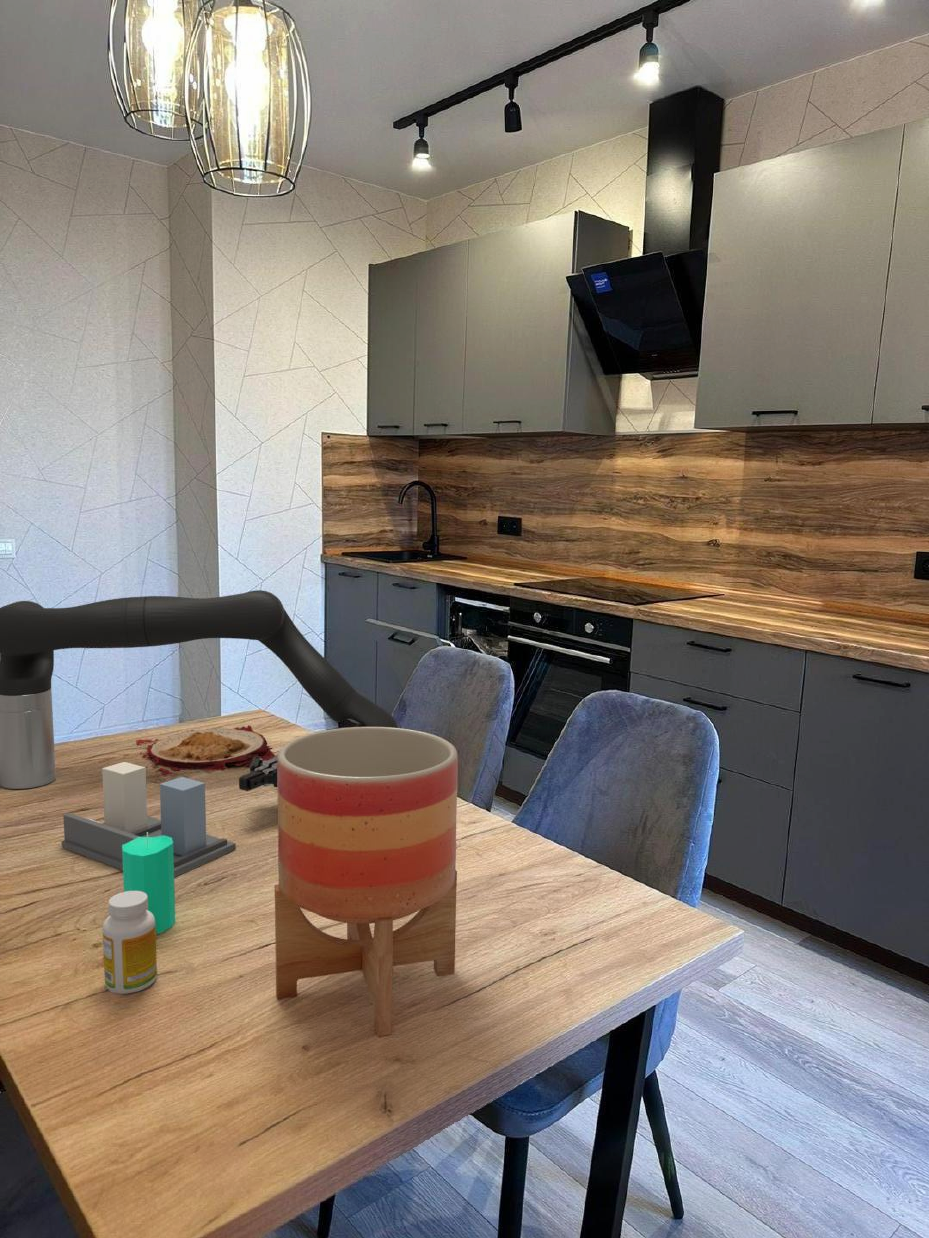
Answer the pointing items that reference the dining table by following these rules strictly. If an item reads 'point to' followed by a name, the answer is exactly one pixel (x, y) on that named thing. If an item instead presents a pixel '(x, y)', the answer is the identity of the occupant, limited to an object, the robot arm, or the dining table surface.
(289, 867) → the planter
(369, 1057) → the dining table surface
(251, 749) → the plate with food
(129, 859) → the candle
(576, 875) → the dining table surface
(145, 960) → the supplement bottle
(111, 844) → the tray
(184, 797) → the slate blue key
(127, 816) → the ivory key
